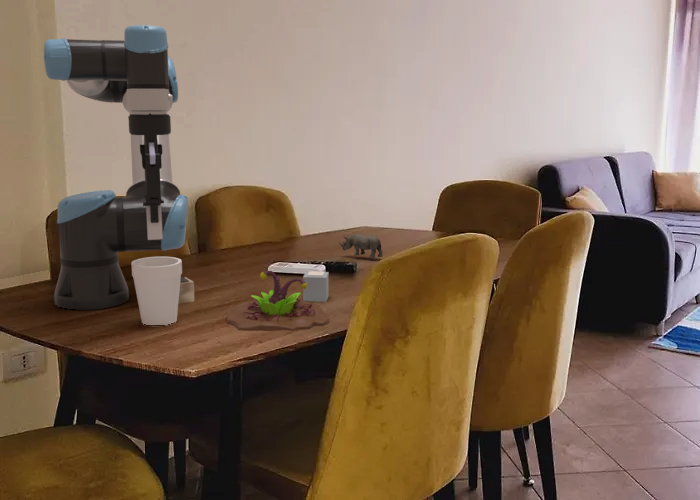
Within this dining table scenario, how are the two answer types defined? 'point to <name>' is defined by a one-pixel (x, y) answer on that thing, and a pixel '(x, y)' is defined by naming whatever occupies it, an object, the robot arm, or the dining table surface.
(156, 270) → the foam cup
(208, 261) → the dining table surface
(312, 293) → the tile block
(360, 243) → the rhino figurine
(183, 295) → the tile block
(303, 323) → the plant
